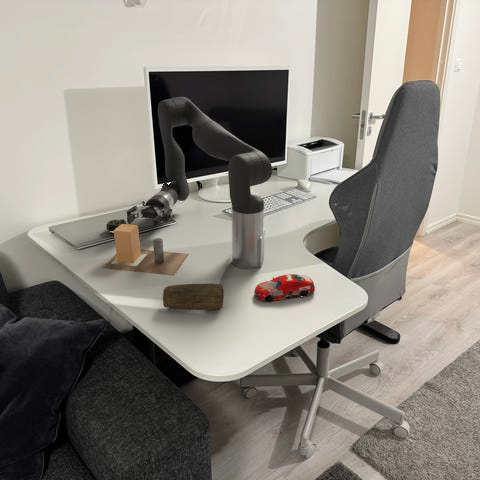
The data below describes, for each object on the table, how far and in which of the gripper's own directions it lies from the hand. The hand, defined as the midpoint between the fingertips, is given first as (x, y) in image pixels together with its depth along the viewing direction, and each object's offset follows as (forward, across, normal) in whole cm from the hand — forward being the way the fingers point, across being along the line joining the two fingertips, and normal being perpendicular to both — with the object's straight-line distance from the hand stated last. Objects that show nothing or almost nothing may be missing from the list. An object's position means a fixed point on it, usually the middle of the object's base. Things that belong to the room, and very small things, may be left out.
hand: (141, 222), depth 144 cm
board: (+11, +6, +9) cm, 15 cm away
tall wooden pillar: (+11, 0, +7) cm, 13 cm away
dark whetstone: (+30, +26, +9) cm, 41 cm away
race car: (+19, +47, +10) cm, 52 cm away
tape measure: (-11, -14, +9) cm, 20 cm away
